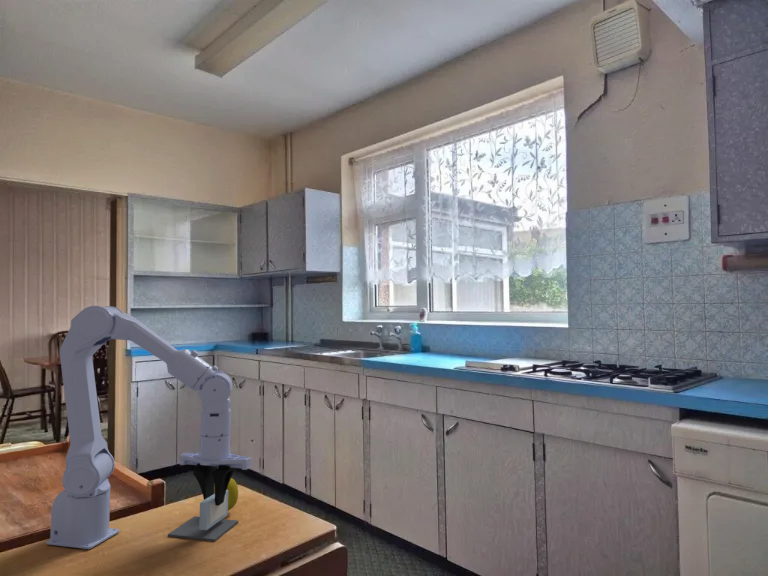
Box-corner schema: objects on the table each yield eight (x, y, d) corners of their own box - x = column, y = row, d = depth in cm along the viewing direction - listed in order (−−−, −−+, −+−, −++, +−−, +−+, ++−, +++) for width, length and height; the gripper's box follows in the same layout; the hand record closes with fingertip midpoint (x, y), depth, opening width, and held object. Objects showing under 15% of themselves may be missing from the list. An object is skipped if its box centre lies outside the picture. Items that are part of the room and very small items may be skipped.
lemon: (233, 518, 108) (234, 479, 109) (207, 518, 108) (208, 479, 109) (241, 508, 114) (241, 471, 114) (215, 508, 114) (216, 471, 114)
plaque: (199, 529, 99) (199, 502, 99) (220, 514, 107) (221, 489, 107) (207, 530, 98) (208, 503, 99) (228, 515, 106) (228, 490, 107)
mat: (167, 536, 99) (167, 534, 99) (194, 518, 108) (194, 516, 108) (215, 541, 97) (215, 539, 97) (238, 522, 106) (238, 520, 106)
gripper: (171, 436, 101) (169, 507, 100) (239, 440, 98) (238, 514, 97) (191, 428, 108) (190, 494, 107) (256, 432, 105) (255, 500, 104)
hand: (214, 503), depth 103 cm, fingers closed on plaque, 2 cm apart
